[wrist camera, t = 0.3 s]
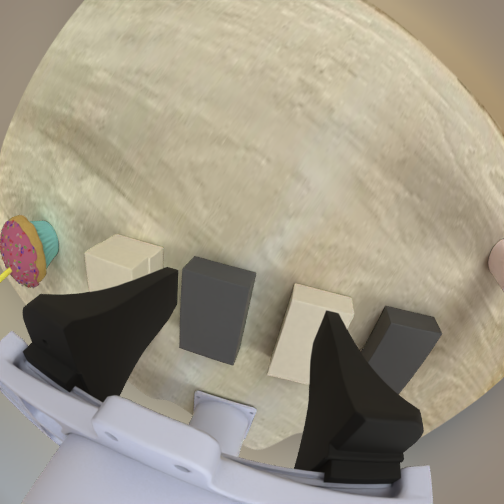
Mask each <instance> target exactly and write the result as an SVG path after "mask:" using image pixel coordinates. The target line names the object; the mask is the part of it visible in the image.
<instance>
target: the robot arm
mask: <svg viewBox="0 0 504 504" xmlns="http://www.w3.org/2000/svg"><path fill="white" fill-rule="evenodd" d="M177 291H178V270H176V269H172V268H169V267H166V268H163V269H160V270H158V271H155V272H152V273H150V274H148V275H145V276H142V277H140V278H137V279H135V280H132V281H129V282H126V283H123V284H120V285H118V286H114V287H111V288H107V289H103V290H98V291H92V292H86V293H79V294H66V295H50V294H40V295H39V296H37V297H36V298H35V299H33V300H32V301H31V302H30V303H28V304H27V305H26V306H25V307H24V308H23V319H24V322H25V325H26V328H27V330H28V333H29V335H30V338H31V340H32V343H31V344H30V345H29V346H28V345H27V344H26V342H25V341H24V340H23V339H22V338H21V337H19V336H18V335H17V334H16V333H14V332H13V331H11V332H10V333H9V334H8V335H6V336H5V337H4V338H3V339H2V340H1V341H0V391H1V392H2V393H3V394H4V395H5V396H6V397H7V398H8V400H9V401H11V403H12V404H14V406H15V407H17V408H18V409H19V410H20V411H21V412H22V413H23V414H24V415H25V416H26V417H27V418H28V419H29V420H30V421H31V422H32V423H33V424H34V425H35V426H37V427H38V428H39V429H40V430H41V431H42V432H43V433H45V434H46V435H47V436H48V437H49V438H50V439H52V440H53V441H54V442H55V443H57V444H58V445H59V446H60V447H59V448H58V450H57V451H56V453H55V454H54V456H53V457H52V458H51V460H50V461H49V463H48V464H47V465H46V467H45V469H44V470H43V471H42V473H41V474H40V476H39V477H38V479H37V480H36V482H35V483H34V485H33V486H32V488H31V489H30V491H29V492H28V494H27V495H26V497H25V498H24V500H23V501H22V503H21V504H433V497H432V496H433V495H432V483H431V474H430V466H429V465H424V466H410V467H405V468H402V469H400V462H402V461H403V460H404V456H403V452H405V451H406V450H407V449H408V448H409V447H411V446H412V445H413V444H414V443H416V442H417V440H418V439H419V438H420V437H421V436H422V434H423V432H424V430H423V423H422V417H421V413H420V410H419V409H417V408H416V407H415V406H413V405H412V404H410V403H409V402H407V401H406V400H405V399H403V398H402V397H401V396H400V395H398V394H397V393H396V392H395V391H394V390H393V389H392V388H390V387H389V386H388V385H387V384H386V383H385V382H384V381H383V380H382V379H381V378H380V376H379V375H378V374H377V373H376V372H375V371H374V370H373V368H372V367H371V366H370V365H369V363H368V362H367V361H366V359H365V358H364V356H363V355H362V353H361V352H360V350H359V349H358V347H357V346H356V344H355V342H354V341H353V339H352V337H351V336H350V334H349V332H348V330H347V328H346V326H345V324H344V322H343V320H342V319H341V317H340V315H339V313H336V312H331V311H327V310H326V312H325V315H324V317H323V320H322V322H321V324H320V327H319V329H318V332H317V334H316V337H315V339H314V341H313V346H312V352H311V359H310V382H309V402H308V410H307V415H306V421H305V426H304V431H303V435H302V440H301V444H300V448H299V452H298V456H297V460H296V463H295V467H294V469H292V468H286V467H280V466H275V465H270V464H265V463H260V462H256V461H252V460H247V459H244V458H240V457H238V456H239V453H240V449H241V446H242V443H243V440H244V439H245V438H246V436H247V433H248V431H249V428H250V426H251V424H252V421H253V419H254V416H255V414H256V411H257V409H256V408H254V407H251V406H247V405H243V404H240V403H236V402H233V401H230V400H226V399H223V398H220V397H217V396H213V395H210V394H207V393H204V392H202V391H198V390H197V391H195V394H194V414H193V416H192V418H191V420H190V422H189V425H188V424H185V423H182V422H180V421H177V420H175V419H172V418H170V417H167V416H164V415H162V414H160V413H157V412H155V411H153V410H151V409H148V408H146V407H144V406H142V405H139V404H137V403H135V402H133V401H131V400H129V399H126V398H123V397H120V394H121V392H122V390H123V388H124V386H125V383H126V381H127V380H128V378H129V376H130V374H131V372H132V370H133V368H134V367H135V365H136V363H137V362H138V360H139V358H140V356H141V355H142V353H143V352H144V351H145V349H146V348H147V346H148V345H149V344H150V343H151V341H152V340H153V339H154V337H155V336H156V335H157V334H158V332H159V331H160V330H161V329H162V327H163V326H164V325H165V323H166V322H167V321H168V319H169V318H170V316H171V314H172V312H173V311H174V309H175V307H176V305H177Z"/></svg>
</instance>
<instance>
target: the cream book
mask: <svg viewBox="0 0 504 504" xmlns="http://www.w3.org/2000/svg"><path fill="white" fill-rule="evenodd" d="M326 310H327V311H331V312H336V313H339V315H340V317H341V319H342V320H343V322H344V324H345V326H346V328H347V329H348V327H349V325H350V323H351V321H352V319H353V316H354V309H353V303H352V298H351V297H348V296H343V295H339V294H336V293H332V292H328V291H324V290H320V289H316V288H312V287H308V286H304V285H300V284H296V283H295V284H294V287H293V291H292V294H291V297H290V301H289V304H288V307H287V310H286V313H285V317H284V320H283V323H282V326H281V329H280V332H279V335H278V338H277V341H276V344H275V347H274V350H273V353H272V356H271V360H270V364H269V368H268V372H267V375H269V376H273V377H277V378H282V379H286V380H290V381H294V382H299V383H303V384H308V385H309V382H310V359H311V352H312V346H313V341H314V339H315V337H316V334H317V332H318V329H319V327H320V324H321V322H322V320H323V317H324V315H325V312H326Z"/></svg>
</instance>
